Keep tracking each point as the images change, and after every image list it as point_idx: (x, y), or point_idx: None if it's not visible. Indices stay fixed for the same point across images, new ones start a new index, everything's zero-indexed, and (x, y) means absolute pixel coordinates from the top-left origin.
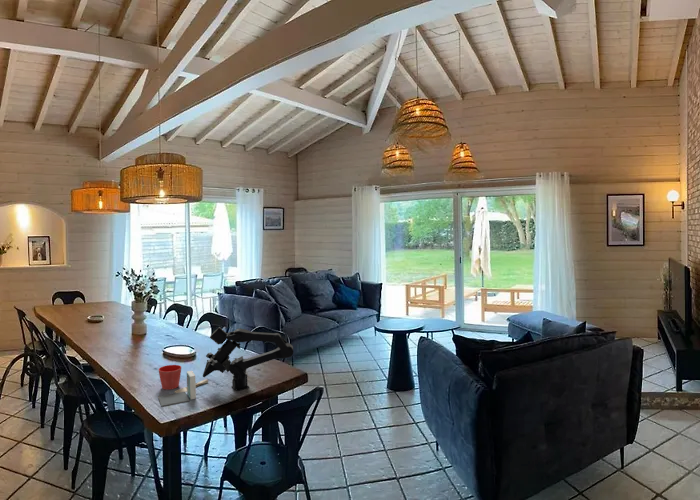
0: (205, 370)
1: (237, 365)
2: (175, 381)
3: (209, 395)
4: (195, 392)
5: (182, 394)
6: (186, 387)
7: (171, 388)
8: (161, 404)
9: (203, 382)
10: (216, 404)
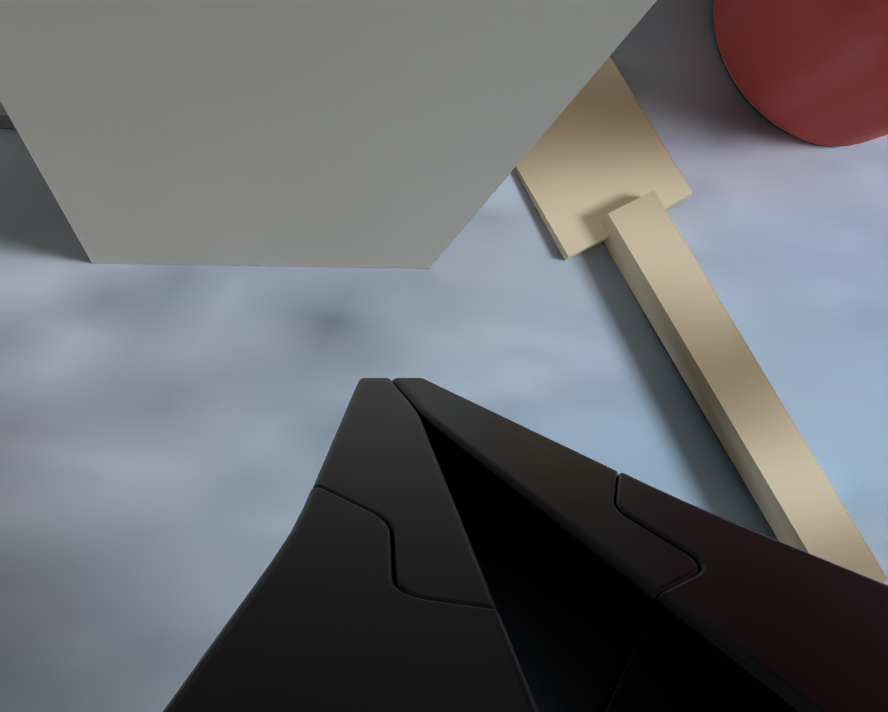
0: (354, 466)
1: None
2: (799, 3)
3: (124, 544)
4: (62, 206)
5: None
6: (646, 197)
7: (719, 17)
8: None
9: (776, 509)
10: None
